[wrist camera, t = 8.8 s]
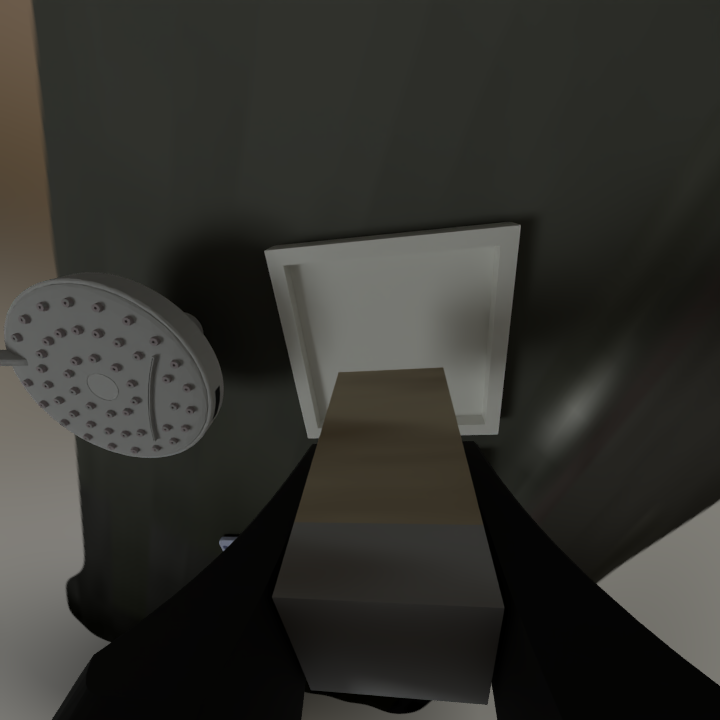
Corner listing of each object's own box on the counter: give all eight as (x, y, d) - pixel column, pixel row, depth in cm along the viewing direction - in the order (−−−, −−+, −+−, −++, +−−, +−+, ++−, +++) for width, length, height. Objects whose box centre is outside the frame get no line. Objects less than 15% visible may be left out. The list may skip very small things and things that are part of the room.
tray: (491, 418, 22) (498, 434, 20) (312, 423, 23) (308, 438, 22) (510, 221, 16) (521, 225, 15) (273, 245, 18) (264, 250, 16)
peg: (442, 447, 14) (487, 704, 7) (351, 449, 15) (310, 689, 8) (443, 367, 12) (504, 607, 5) (338, 372, 13) (272, 596, 6)
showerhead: (-72, 246, 12) (207, 332, 12) (93, 223, 18) (271, 280, 19) (-7, 438, 16) (195, 494, 17) (107, 365, 23) (250, 408, 23)
